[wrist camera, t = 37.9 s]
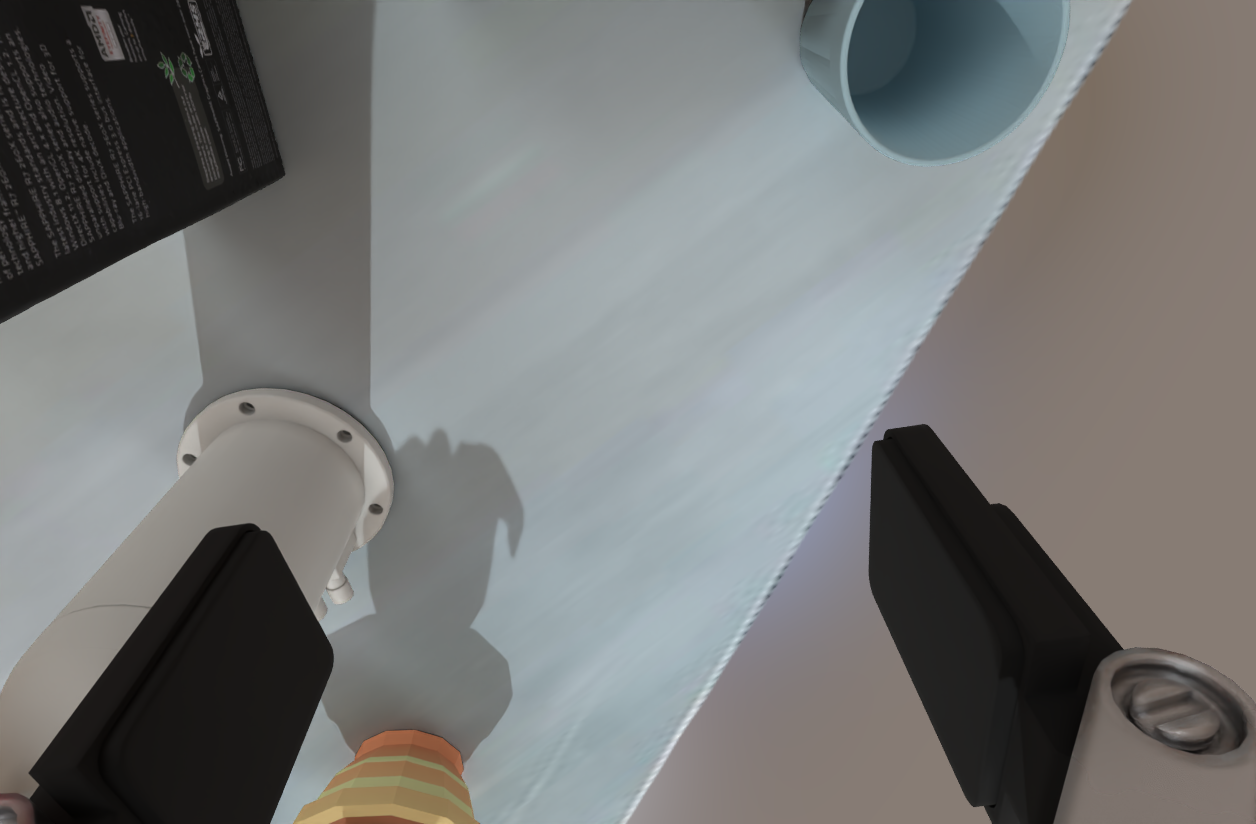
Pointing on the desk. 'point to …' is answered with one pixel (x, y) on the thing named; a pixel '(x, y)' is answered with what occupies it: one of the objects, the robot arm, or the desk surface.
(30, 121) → the graphics card box
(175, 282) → the desk surface
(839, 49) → the cup
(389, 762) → the potted cactus
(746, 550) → the desk surface
